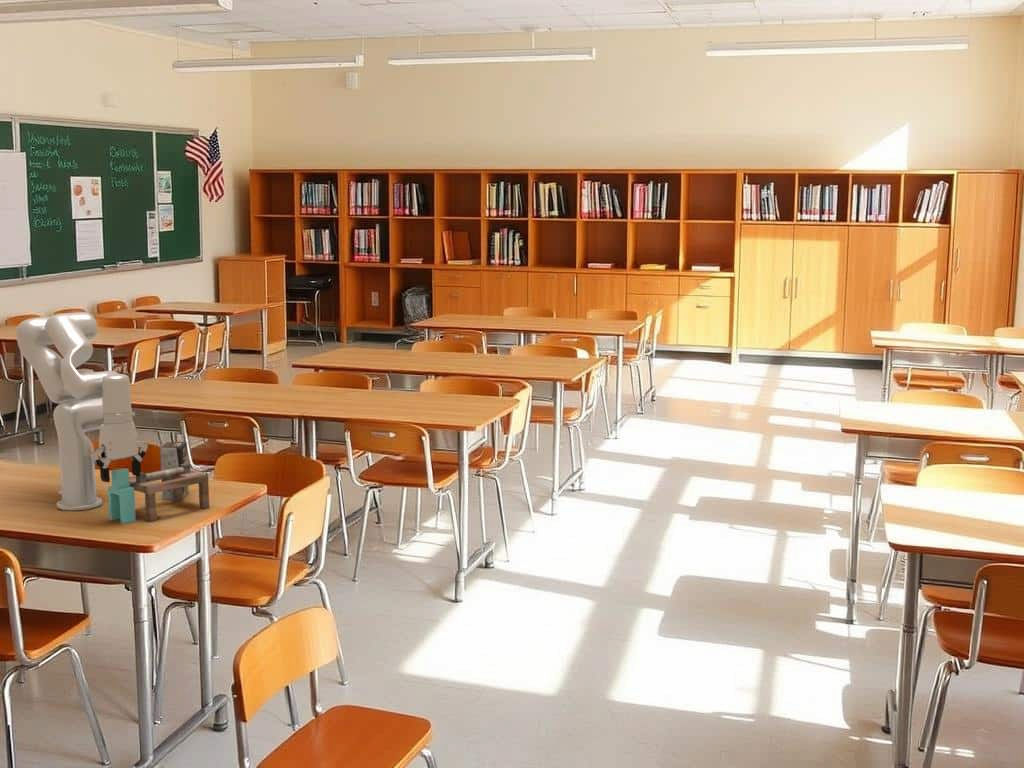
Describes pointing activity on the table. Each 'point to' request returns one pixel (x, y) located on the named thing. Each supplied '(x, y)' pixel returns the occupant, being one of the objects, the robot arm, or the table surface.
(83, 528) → the table surface
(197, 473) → the wooden rack stand
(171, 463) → the coffee box
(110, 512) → the teal stepped block
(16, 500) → the table surface
